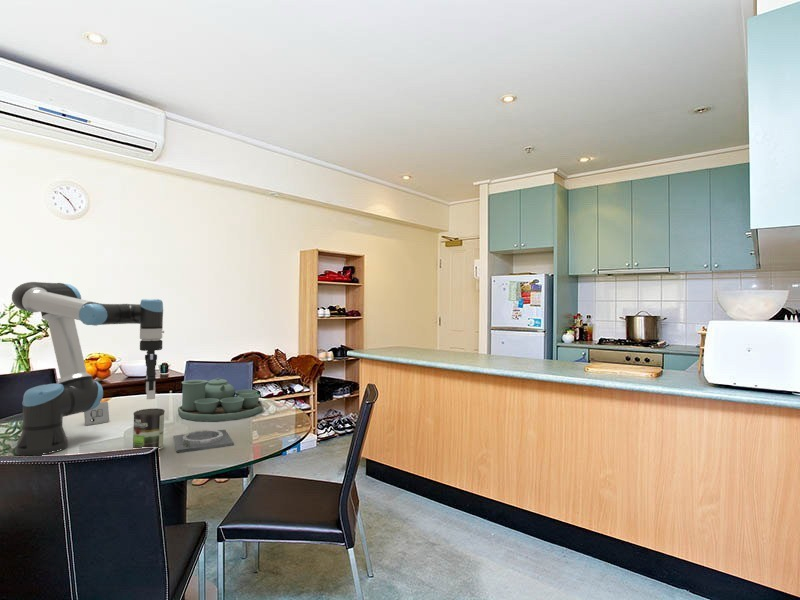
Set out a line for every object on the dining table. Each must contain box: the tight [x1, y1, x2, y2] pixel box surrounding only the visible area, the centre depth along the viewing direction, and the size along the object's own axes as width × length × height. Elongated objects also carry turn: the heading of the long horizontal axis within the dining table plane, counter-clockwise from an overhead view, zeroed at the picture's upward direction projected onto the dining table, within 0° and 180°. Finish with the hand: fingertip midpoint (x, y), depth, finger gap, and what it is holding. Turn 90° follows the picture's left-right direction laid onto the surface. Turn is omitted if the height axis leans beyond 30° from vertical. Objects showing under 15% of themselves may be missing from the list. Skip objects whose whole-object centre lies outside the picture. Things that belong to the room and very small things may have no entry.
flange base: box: [172, 429, 235, 453], centre depth 178 cm, size 20×20×2 cm
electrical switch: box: [83, 401, 110, 426], centre depth 202 cm, size 9×5×9 cm, turn 141°
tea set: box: [177, 377, 263, 422], centre depth 227 cm, size 40×40×16 cm
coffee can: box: [132, 408, 165, 450], centre depth 168 cm, size 10×10×14 cm
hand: (150, 395), depth 168 cm, fingers open, 13 cm apart
